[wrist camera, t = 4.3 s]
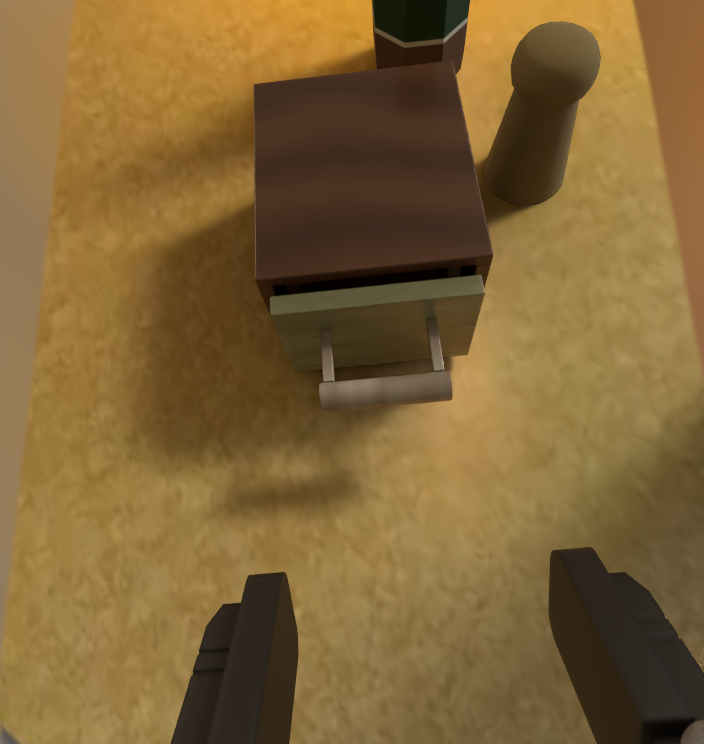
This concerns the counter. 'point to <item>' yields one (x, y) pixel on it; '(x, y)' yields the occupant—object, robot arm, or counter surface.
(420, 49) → the beer bottle
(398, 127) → the cabinet
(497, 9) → the counter surface
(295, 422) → the counter surface
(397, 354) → the drawer
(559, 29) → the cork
